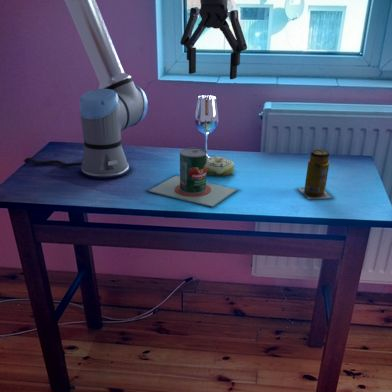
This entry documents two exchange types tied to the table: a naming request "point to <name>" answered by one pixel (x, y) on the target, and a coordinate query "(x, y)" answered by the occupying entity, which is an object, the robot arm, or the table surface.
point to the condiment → (316, 175)
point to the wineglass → (206, 116)
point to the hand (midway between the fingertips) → (212, 75)
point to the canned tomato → (193, 170)
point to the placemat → (206, 198)
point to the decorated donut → (219, 166)
